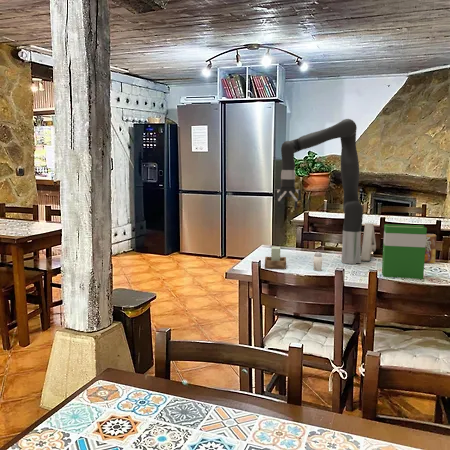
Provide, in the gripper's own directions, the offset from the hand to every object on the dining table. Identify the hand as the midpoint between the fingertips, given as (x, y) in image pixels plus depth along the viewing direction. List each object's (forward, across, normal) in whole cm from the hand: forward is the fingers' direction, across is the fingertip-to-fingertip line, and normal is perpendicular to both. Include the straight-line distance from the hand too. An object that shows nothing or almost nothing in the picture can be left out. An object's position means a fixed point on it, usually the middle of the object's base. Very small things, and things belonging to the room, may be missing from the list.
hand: (287, 208), depth 248 cm
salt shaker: (+28, +15, -24) cm, 40 cm away
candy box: (+28, +74, -1) cm, 79 cm away
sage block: (+27, -6, -20) cm, 34 cm away
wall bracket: (+29, +48, +14) cm, 57 cm away
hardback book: (+28, +54, -31) cm, 68 cm away
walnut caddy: (+28, -6, -20) cm, 35 cm away
